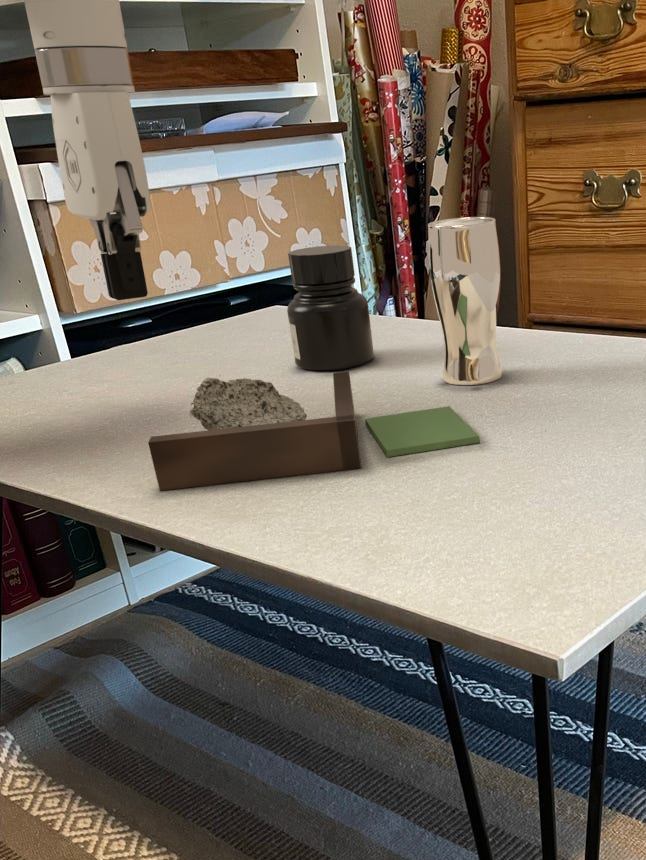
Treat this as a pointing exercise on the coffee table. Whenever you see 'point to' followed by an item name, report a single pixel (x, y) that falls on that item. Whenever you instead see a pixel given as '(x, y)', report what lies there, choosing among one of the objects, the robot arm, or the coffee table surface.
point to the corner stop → (261, 448)
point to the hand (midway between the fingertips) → (128, 297)
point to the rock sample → (242, 404)
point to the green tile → (421, 431)
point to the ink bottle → (327, 310)
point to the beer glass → (466, 296)
